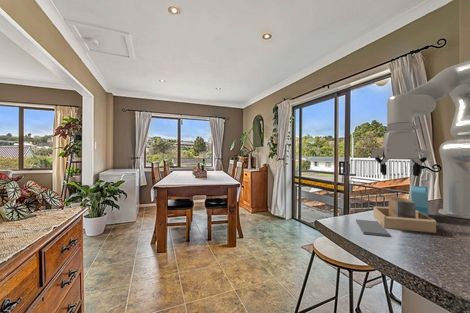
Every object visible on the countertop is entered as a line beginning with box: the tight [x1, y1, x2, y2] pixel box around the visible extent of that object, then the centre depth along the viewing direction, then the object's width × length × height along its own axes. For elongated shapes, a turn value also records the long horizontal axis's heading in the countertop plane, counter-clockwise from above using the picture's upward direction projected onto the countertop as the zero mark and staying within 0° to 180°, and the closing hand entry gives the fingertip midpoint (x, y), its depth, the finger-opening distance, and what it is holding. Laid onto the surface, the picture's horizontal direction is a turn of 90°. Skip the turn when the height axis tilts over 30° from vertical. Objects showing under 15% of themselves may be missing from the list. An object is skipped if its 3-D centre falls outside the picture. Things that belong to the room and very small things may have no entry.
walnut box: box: [388, 196, 416, 218], centre depth 77 cm, size 5×10×9 cm, turn 159°
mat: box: [355, 218, 390, 238], centre depth 73 cm, size 7×14×1 cm, turn 159°
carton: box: [373, 205, 438, 234], centre depth 77 cm, size 14×18×4 cm
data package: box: [410, 185, 429, 216], centre depth 86 cm, size 12×4×12 cm, turn 136°
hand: (399, 175), depth 77 cm, fingers open, 9 cm apart
